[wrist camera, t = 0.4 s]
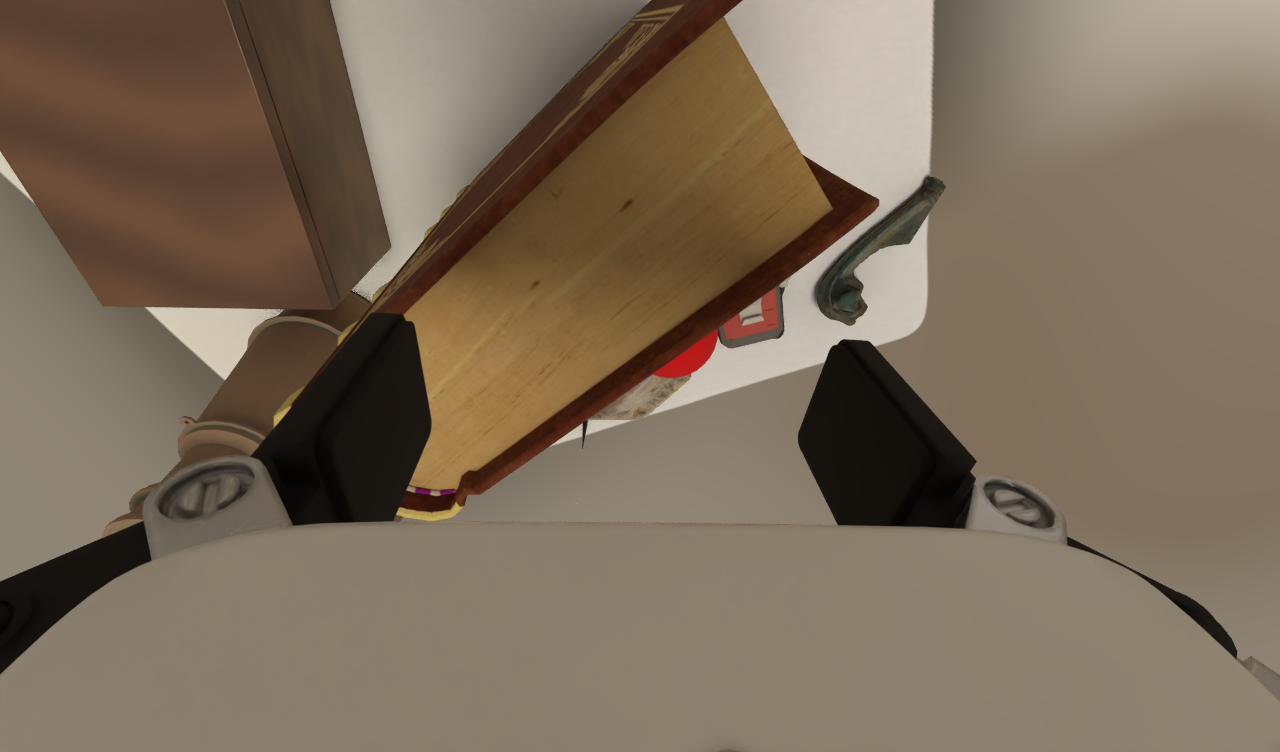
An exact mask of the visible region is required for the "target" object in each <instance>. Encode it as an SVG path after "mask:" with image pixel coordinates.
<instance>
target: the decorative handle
mask: <svg viewBox="0 0 1280 752" xmlns="http://www.w3.org/2000/svg"><path fill="white" fill-rule="evenodd" d="M945 188H946V186H945V185H944V184H943V182H942V181H940V180H939V179H937V178H934V177H928V178H927V179H926V180H925V185H924V189H923V190H921V191H920V192H919V193H918V194H917V195H916V196H915V197H914V198H913V199H911V200H910V201H909V202H908V203H907V204H906V205H905V206H904V207H902V208H901V209H900V210H899V211H897V212H896V213H895V214H894V215H893V216H891V217H890V218H889V219H887V220H886V221H885V222H883V223H882V224H881V225H879V226H878V227H877V228H876V229H874V230H873V231H872V232H871V233H869V234H868V235H867V236H866V237H864V238H863V239H862V240H861V241H860V242H859V243H858V244H856V245H855V246H854V247H852V248H851V249H850V250H849V251H848V252H847V253H846V254H845V255H844V256H843V257H842V258H841V259H840V260H839V261H838V262H837V264H836V265H835V266H834V267H833V268H832V269H831V271H830V272H829V273H828V275H827V276H826V277H825V279H824V280H823V281H822V283H821V286H820V288H819V291H818V297H817V303H818V307H819V309H820V311H821V312H822V313H823V314H824V315H825V316H826V317H828V318H829V319H832V320H837V321H840V322H843V323H844V324H846V325H849V326H850V325H854V324H855V322H856V321H855V320H856V319H857V318H858V317H860V316H862V315H863V314H864V313H865V311H866V310H867V308H868V306H867V305H866V303H865V302H864V300H863V299H862V297H861V293H862V290H863V288H864V286H863V284H862V283H861V282H860V281H859V280H858V279H857V278H856V277H855V276H854V272H853V271H854V269H855V268H856V267H857V266H858V265H859V264H860V263H862V262H863V261H864V260H865V259H867V258H868V257H869V256H870V255H872V254H873V253H875V252H877V251H878V250H879V249H882V248H885V247H888V246H893V245H902V244H909V243H910V242H911V240H912V239H913V237H914V236H915V234H916V233H917V231H918V229H919V228H920V226H921V225H922V223H923V222H924V220H925V219H926V217H927V216H928V213H929V212H930V210H931V209H932V208H933V206H934V204H935V203H936V202H937V200H938V198H939V197H940V196H941V194H942V192H943V191H944V189H945Z"/></svg>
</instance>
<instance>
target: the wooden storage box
mask: <svg viewBox="0 0 1280 752" xmlns="http://www.w3.org/2000/svg"><path fill="white" fill-rule="evenodd" d="M0 151H1V153H2V154H3V156H4V157H5V159H6V160H7V162H8V163H9V165H10V166H11V168H12V169H13V171H14V173H15V174H16V176H17V177H18V179H19V180H20V182H21V183H22V185H23V186H24V188H25V189H26V191H27V192H28V194H29V195H30V197H31V198H32V200H33V201H34V203H35V204H36V206H37V207H38V209H39V210H40V212H41V214H42V215H43V217H44V218H45V220H46V221H47V223H48V224H49V226H50V227H51V229H52V230H53V232H54V233H55V235H56V236H57V238H58V239H59V241H60V242H61V244H62V245H63V247H64V248H65V250H66V251H67V253H68V255H69V256H70V258H71V259H72V261H73V262H74V264H75V265H76V267H77V268H78V270H79V271H80V273H81V274H82V276H83V277H84V279H85V280H86V282H87V283H88V285H89V286H90V288H91V289H92V291H93V293H94V294H95V296H96V297H97V299H98V300H99V302H100V303H101V305H102V306H119V307H124V306H125V307H182V308H247V309H311V310H334V308H335V307H336V306H337V305H338V304H339V303H340V302H341V301H342V300H343V299H344V297H345V296H346V295H347V294H348V293H349V292H350V291H351V290H352V289H353V288H354V287H355V286H356V285H357V283H358V282H359V281H360V280H361V279H362V278H363V277H364V276H365V275H366V274H367V273H368V272H369V271H370V269H371V268H372V267H373V266H374V265H375V264H376V263H377V262H378V261H379V260H380V259H381V258H382V256H383V255H384V254H385V253H386V252H387V251H388V250H389V249H390V248H391V245H390V241H389V237H388V233H387V229H386V225H385V221H384V217H383V214H382V210H381V206H380V202H379V198H378V194H377V190H376V186H375V182H374V178H373V174H372V170H371V166H370V162H369V158H368V154H367V150H366V146H365V142H364V138H363V134H362V130H361V126H360V122H359V118H358V114H357V110H356V106H355V102H354V98H353V94H352V90H351V86H350V82H349V78H348V74H347V70H346V66H345V62H344V58H343V55H342V51H341V47H340V43H339V39H338V35H337V31H336V27H335V23H334V19H333V15H332V11H331V7H330V3H329V0H0Z"/></svg>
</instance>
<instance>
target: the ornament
mask: <svg viewBox="0 0 1280 752" xmlns="http://www.w3.org/2000/svg"><path fill="white" fill-rule="evenodd" d="M717 337H718V328H717V329H716V330H715V331H713V332H712V333H710V334H709V335H707V336H706V337H705V338H703V339H702V340H700V341H699V342H697V343H696V344H695V345H693V346H692V347H690V348H689V349H687V350H686V351H685V352H683V353H682V354H680V355H679V356H677V357H676V358H675V359H673V360H672V361H670V362H669V363H667V364H666V365H665V366H663V367H662V368H660V369H659V370H657V371H656V372H655V373H653V374H652V375H655V376H658V377H662V378H679V377H683V376H686V375H689V374H691V373H693V372H695V371H697V370H698V369H699V368H700V367H702V366H703V365H704V364H705V363H706V361H707V360H708V359H709V358H710V356H711V354H712V353H713V351H714V349H715V346H716V342H717Z"/></svg>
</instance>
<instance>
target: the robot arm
mask: <svg viewBox="0 0 1280 752" xmlns="http://www.w3.org/2000/svg"><path fill="white" fill-rule="evenodd" d="M431 427H432V419H431V413H430V408H429V402H428V396H427V391H426V385H425V379H424V374H423V368H422V363H421V357H420V351H419V346H418V340H417V334H416V329H415V325H414V323H413V322H412V321H406V319H405V317H404V315H402V314H397V313H379V312H372V313H371V314H369V316H368V317H367V318H366V319H365V320H364V322H363V323H362V324H361V325H360V326H359V328H358V329H357V330H356V331H355V332H354V334H353V335H352V336H351V337H350V338H349V340H348V341H347V342H346V343H345V344H344V346H343V347H342V348H341V349H340V350H339V352H338V353H337V354H336V355H335V356H334V358H333V359H332V360H331V361H330V362H329V364H328V365H327V366H326V367H325V368H324V369H323V371H322V372H321V373H320V374H319V375H318V376H317V377H316V378H315V380H314V381H313V382H312V383H311V384H310V385H309V387H308V388H307V389H306V390H305V391H304V393H303V394H302V395H301V396H300V397H299V399H298V400H297V401H296V402H295V403H294V405H293V406H292V407H291V408H290V409H289V411H288V412H287V413H286V414H285V415H284V417H283V418H282V419H281V420H280V421H279V423H278V424H277V425H276V426H275V427H274V429H273V430H272V431H271V432H270V433H269V434H268V436H267V437H266V438H265V439H264V440H263V442H262V443H261V444H260V445H259V446H258V448H257V449H256V450H255V451H254V452H253V454H252V455H251V456H247V455H235V454H232V455H223V456H216V457H212V458H208V459H205V460H201V461H198V462H195V463H193V464H191V465H188V466H186V467H183V468H181V469H179V470H178V471H176V472H174V473H173V474H171V475H169V476H168V477H166V478H164V479H163V480H162V481H161V482H160V483H159V484H158V485H156V486H155V487H154V488H153V489H152V490H151V491H150V493H149V494H148V496H147V497H146V499H145V501H144V502H143V510H142V515H143V520H144V521H141V522H139V523H137V524H134V525H132V526H130V527H127V528H125V529H122V530H120V531H118V532H115V533H113V534H111V535H108V536H106V537H104V538H101V539H99V540H97V541H94V542H92V543H90V544H87V545H85V546H83V547H80V548H78V549H76V550H73V551H71V552H69V553H66V554H64V555H61V556H59V557H57V558H54V559H52V560H50V561H47V562H45V563H43V564H41V565H38V566H36V567H33V568H31V569H29V570H27V571H24V572H22V573H19V574H17V575H15V576H12V577H10V578H8V579H5V580H3V581H0V752H1280V675H1279V674H1277V673H1276V672H1274V671H1273V670H1271V669H1270V668H1268V667H1266V666H1265V665H1264V664H1262V663H1261V662H1259V661H1258V660H1256V659H1255V658H1253V657H1252V656H1250V657H1249V658H1247V659H1245V660H1244V661H1241V660H1240V659H1238V658H1237V650H1236V647H1235V645H1234V643H1233V641H1232V639H1231V638H1230V636H1229V635H1228V634H1227V632H1226V631H1225V630H1224V628H1223V627H1222V626H1221V625H1220V624H1219V623H1218V622H1217V621H1216V620H1215V619H1214V617H1213V616H1212V615H1211V614H1210V613H1209V612H1208V611H1207V610H1206V609H1205V608H1204V607H1203V606H1201V605H1200V604H1199V603H1197V602H1196V601H1194V600H1193V599H1191V598H1189V597H1188V596H1186V595H1184V594H1181V593H1179V592H1176V591H1174V590H1172V589H1170V588H1168V587H1167V586H1165V585H1163V584H1160V583H1159V582H1157V581H1155V580H1153V579H1151V578H1149V577H1147V576H1145V575H1143V574H1141V573H1139V572H1137V571H1135V570H1133V569H1131V568H1129V567H1127V566H1125V565H1123V564H1121V563H1119V562H1117V561H1115V560H1113V559H1111V558H1109V557H1107V556H1105V555H1103V554H1101V553H1099V552H1097V551H1095V550H1093V549H1091V548H1089V547H1087V546H1085V545H1083V544H1081V543H1079V542H1077V541H1075V540H1073V539H1071V538H1069V537H1067V527H1066V521H1065V518H1064V515H1063V514H1062V512H1061V511H1060V510H1059V508H1058V507H1057V505H1055V504H1054V503H1053V502H1052V501H1051V500H1050V499H1049V498H1048V497H1047V496H1045V495H1044V494H1043V493H1041V492H1040V491H1038V490H1037V489H1036V488H1034V487H1032V486H1030V485H1028V484H1026V483H1024V482H1022V481H1020V480H1018V479H1015V478H1012V477H1009V476H1006V475H1000V474H995V473H993V474H983V475H981V476H979V477H977V479H976V478H975V477H974V476H973V475H972V474H971V472H970V470H971V469H972V468H973V466H974V465H975V463H976V460H975V459H974V457H973V456H972V455H971V454H970V453H969V452H968V451H967V450H966V449H965V447H964V446H963V445H962V444H961V443H960V442H959V441H958V440H957V439H956V437H955V436H954V435H953V434H952V433H951V432H950V431H949V430H948V428H946V426H945V425H944V424H943V423H942V422H941V421H940V420H939V418H938V417H937V416H936V415H935V414H934V413H933V412H932V411H931V409H930V408H929V407H928V406H927V405H926V404H925V403H924V402H923V401H922V399H921V398H920V397H919V396H918V395H917V394H916V393H915V392H914V391H913V390H912V388H911V387H910V386H909V385H908V384H907V383H906V382H905V380H904V379H903V378H902V377H901V376H900V375H899V374H898V373H897V372H896V371H895V369H894V368H893V367H892V366H891V365H890V364H889V363H888V362H887V361H886V359H885V358H884V357H883V356H882V355H881V354H880V353H879V351H878V350H877V349H876V348H875V347H874V346H873V345H872V344H871V343H870V342H869V341H863V340H846V339H843V340H841V341H840V342H839V343H838V345H834V346H832V347H831V349H830V351H829V353H828V356H827V359H826V361H825V364H824V366H823V369H822V372H821V374H820V377H819V380H818V382H817V385H816V388H815V390H814V393H813V396H812V398H811V401H810V403H809V406H808V409H807V412H806V414H805V417H804V419H803V422H802V425H801V428H800V430H799V433H798V444H799V447H800V449H801V451H802V453H803V455H804V457H805V459H806V461H807V463H808V465H809V467H810V469H811V471H812V473H813V476H814V477H815V480H816V482H817V484H818V486H819V488H820V490H821V492H822V494H823V496H824V498H825V500H826V502H827V504H828V506H829V508H830V510H831V512H832V514H833V516H834V518H835V520H836V522H837V524H838V525H788V524H720V523H719V524H718V523H631V522H630V523H629V522H627V523H625V522H622V523H621V522H476V521H475V522H474V521H473V522H471V521H470V522H469V521H464V522H463V521H394V518H395V516H396V514H397V511H398V509H399V507H400V504H401V502H402V500H403V497H404V495H405V493H406V490H407V488H408V486H409V483H410V481H411V479H412V476H413V474H414V472H415V469H416V467H417V464H418V462H419V460H420V457H421V455H422V453H423V450H424V448H425V446H426V443H427V441H428V439H429V436H430V433H431Z"/></svg>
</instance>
